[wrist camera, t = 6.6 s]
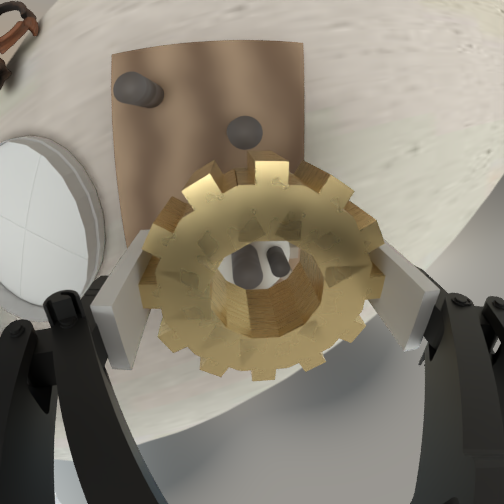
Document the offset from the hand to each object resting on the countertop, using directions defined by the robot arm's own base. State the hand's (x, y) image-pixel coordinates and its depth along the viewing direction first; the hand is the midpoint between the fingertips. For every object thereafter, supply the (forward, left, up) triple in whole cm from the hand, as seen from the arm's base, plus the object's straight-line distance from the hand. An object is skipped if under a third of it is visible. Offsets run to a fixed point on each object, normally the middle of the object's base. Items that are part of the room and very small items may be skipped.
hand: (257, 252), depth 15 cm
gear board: (-3, +2, -16) cm, 17 cm away
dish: (-26, -2, -17) cm, 31 cm away
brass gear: (0, 0, 0) cm, 0 cm away
